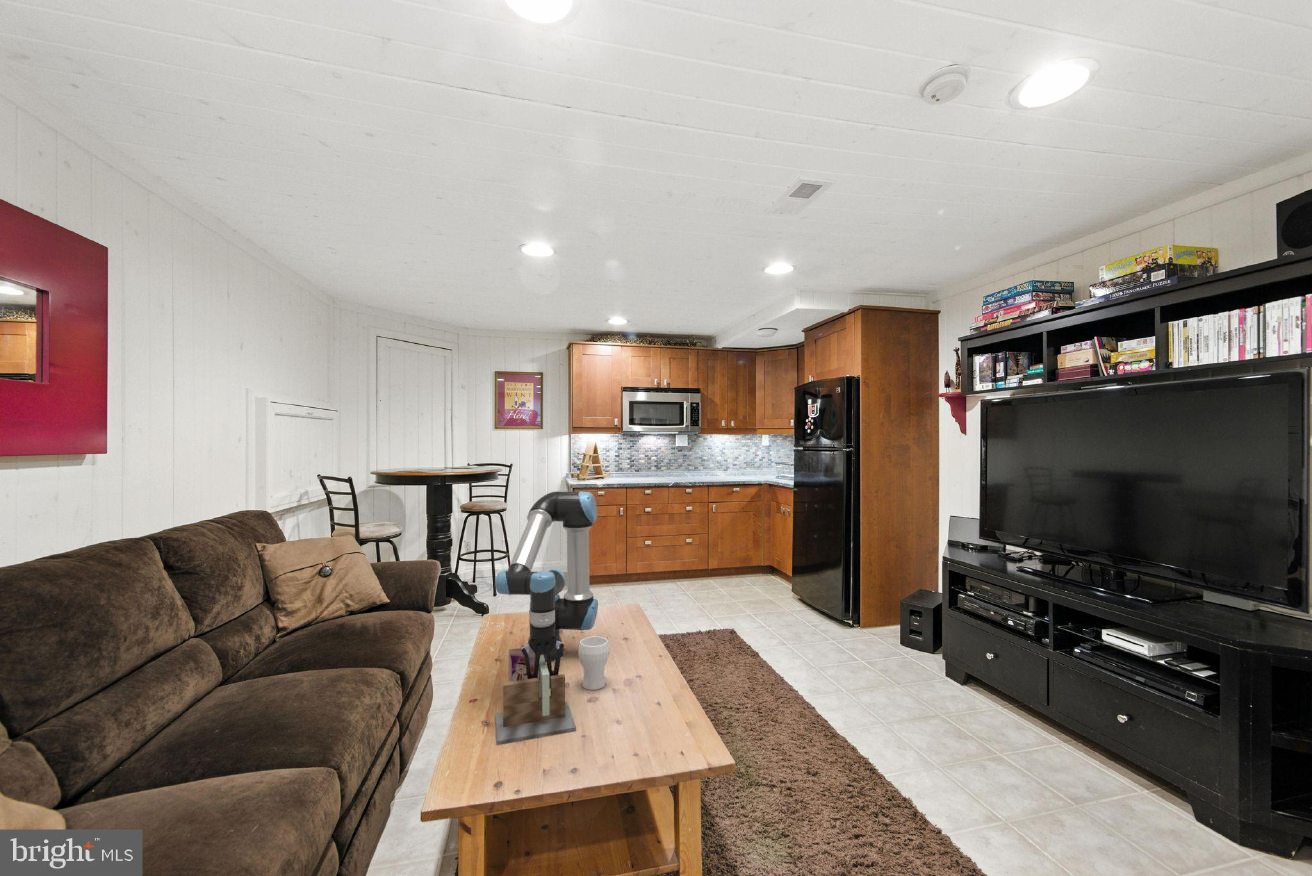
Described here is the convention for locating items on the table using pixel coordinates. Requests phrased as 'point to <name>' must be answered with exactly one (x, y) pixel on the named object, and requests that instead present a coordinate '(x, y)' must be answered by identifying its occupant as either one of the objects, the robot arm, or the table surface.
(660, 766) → the table surface
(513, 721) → the wood panel stand
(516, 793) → the table surface
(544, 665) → the sage plate
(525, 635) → the table surface
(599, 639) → the cup
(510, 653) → the greeting card
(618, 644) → the table surface
